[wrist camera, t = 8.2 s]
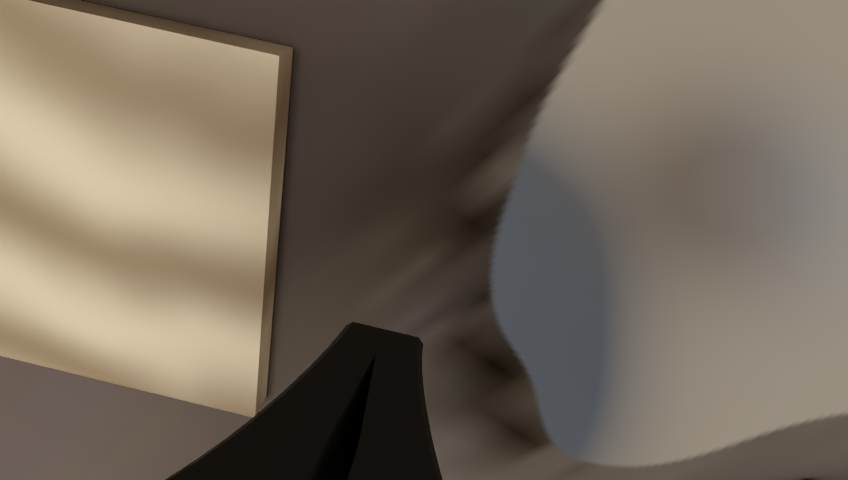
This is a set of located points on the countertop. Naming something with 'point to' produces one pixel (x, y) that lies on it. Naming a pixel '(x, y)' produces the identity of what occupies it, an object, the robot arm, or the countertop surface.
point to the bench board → (140, 199)
